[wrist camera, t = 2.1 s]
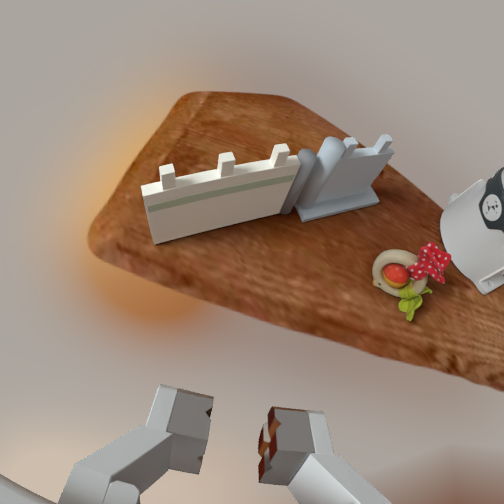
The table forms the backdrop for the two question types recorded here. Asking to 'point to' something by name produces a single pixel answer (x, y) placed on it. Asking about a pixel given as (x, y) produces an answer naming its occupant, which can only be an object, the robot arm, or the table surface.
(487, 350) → the table surface
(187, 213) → the fence panel
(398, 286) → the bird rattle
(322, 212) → the grey toy wall
